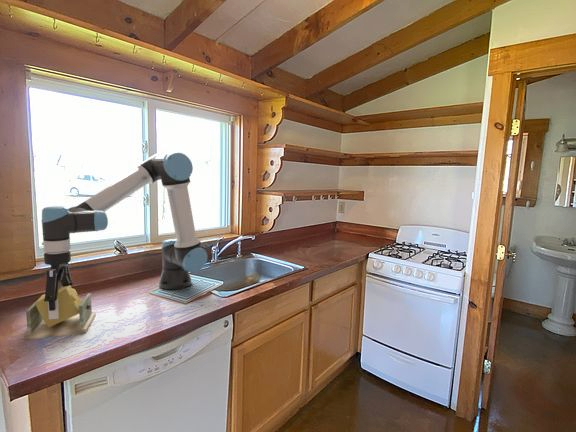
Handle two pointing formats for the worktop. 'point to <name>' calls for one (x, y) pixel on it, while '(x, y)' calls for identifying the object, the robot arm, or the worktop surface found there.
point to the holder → (66, 327)
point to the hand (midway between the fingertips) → (60, 310)
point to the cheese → (60, 305)
